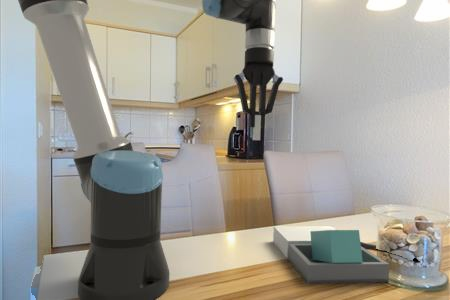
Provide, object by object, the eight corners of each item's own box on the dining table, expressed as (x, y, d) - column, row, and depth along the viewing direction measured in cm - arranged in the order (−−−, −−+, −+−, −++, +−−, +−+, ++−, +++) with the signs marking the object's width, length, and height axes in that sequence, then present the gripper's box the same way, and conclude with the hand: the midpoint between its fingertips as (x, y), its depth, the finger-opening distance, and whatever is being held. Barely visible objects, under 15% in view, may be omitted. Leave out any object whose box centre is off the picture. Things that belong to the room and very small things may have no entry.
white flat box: (287, 258, 71) (287, 240, 71) (273, 241, 83) (273, 226, 83) (354, 257, 73) (355, 240, 73) (331, 241, 85) (332, 226, 85)
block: (312, 259, 70) (332, 262, 60) (310, 231, 71) (329, 230, 62) (338, 259, 70) (362, 262, 61) (335, 231, 72) (358, 230, 62)
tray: (307, 283, 59) (308, 265, 59) (287, 259, 71) (288, 243, 71) (388, 282, 61) (389, 263, 61) (355, 258, 73) (356, 243, 73)
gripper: (279, 55, 88) (276, 140, 88) (232, 52, 86) (229, 139, 87) (287, 47, 80) (284, 141, 81) (236, 44, 79) (233, 139, 79)
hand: (256, 140), depth 84 cm, fingers closed
